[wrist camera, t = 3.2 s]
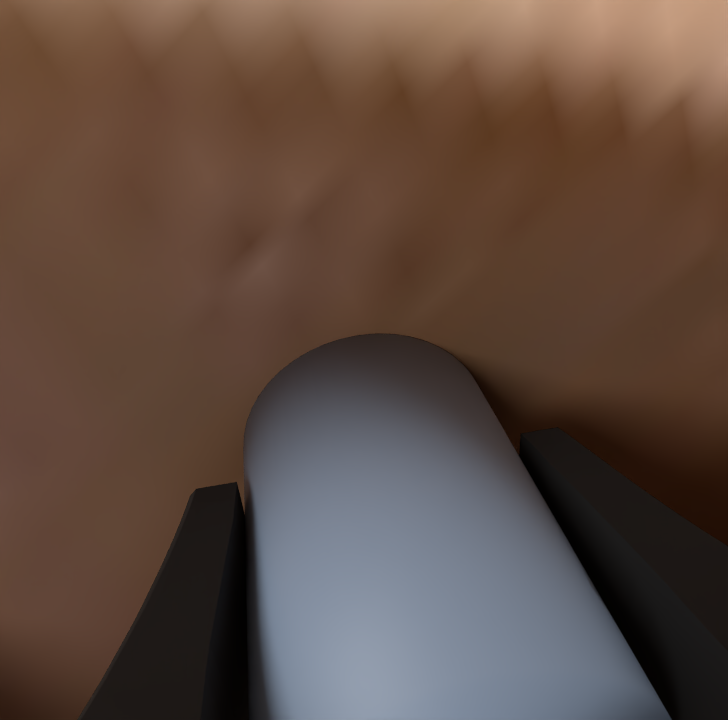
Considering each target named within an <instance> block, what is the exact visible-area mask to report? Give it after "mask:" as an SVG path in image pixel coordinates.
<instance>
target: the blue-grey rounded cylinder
mask: <svg viewBox="0 0 728 720" xmlns="http://www.w3.org/2000/svg"><path fill="white" fill-rule="evenodd" d="M244 499H245V549H246V605H247V657H248V710H249V720H672V719H671V717H670V716H669V714H668V712H667V710H666V709H665V707H664V705H663V704H662V702H661V700H660V698H659V697H658V695H657V693H656V692H655V690H654V688H653V686H652V685H651V683H650V681H649V679H648V678H647V676H646V674H645V673H644V671H643V669H642V667H641V666H640V664H639V662H638V660H637V659H636V657H635V655H634V654H633V652H632V650H631V648H630V647H629V645H628V643H627V642H626V640H625V638H624V636H623V635H622V633H621V631H620V629H619V628H618V626H617V624H616V623H615V621H614V619H613V617H612V616H611V614H610V612H609V610H608V609H607V607H606V605H605V604H604V602H603V600H602V598H601V597H600V595H599V593H598V591H597V590H596V588H595V586H594V585H593V583H592V581H591V579H590V578H589V576H588V574H587V573H586V571H585V569H584V567H583V566H582V564H581V562H580V560H579V559H578V557H577V555H576V554H575V552H574V550H573V548H572V547H571V545H570V543H569V541H568V540H567V538H566V536H565V535H564V533H563V531H562V529H561V528H560V526H559V524H558V523H557V521H556V519H555V517H554V516H553V514H552V512H551V510H550V509H549V507H548V505H547V504H546V502H545V500H544V498H543V497H542V495H541V493H540V491H539V490H538V488H537V486H536V485H535V483H534V481H533V479H532V478H531V476H530V474H529V472H528V471H527V469H526V467H525V466H524V464H523V462H522V460H521V459H520V457H519V455H518V454H517V452H516V450H515V448H514V447H513V445H512V443H511V441H510V440H509V438H508V436H507V435H506V433H505V431H504V429H503V428H502V426H501V424H500V422H499V421H498V419H497V417H496V416H495V414H494V412H493V410H492V409H491V407H490V405H489V404H488V402H487V400H486V398H485V397H484V395H483V393H482V391H481V390H480V388H479V386H478V385H477V383H476V381H475V380H474V378H473V376H472V375H471V373H470V372H469V371H468V370H467V369H466V368H465V366H464V365H463V364H462V363H461V362H460V361H458V360H457V359H456V358H455V357H454V356H452V355H451V354H450V353H448V352H446V351H445V350H443V349H441V348H440V347H438V346H435V345H433V344H431V343H429V342H426V341H423V340H420V339H416V338H413V337H409V336H402V335H395V334H368V335H358V336H353V337H348V338H343V339H339V340H336V341H333V342H330V343H327V344H324V345H322V346H320V347H318V348H315V349H313V350H311V351H309V352H307V353H305V354H304V355H302V356H300V357H299V358H297V359H296V360H294V361H292V362H291V363H290V364H289V365H287V366H286V367H285V368H284V369H282V370H281V371H280V372H279V373H278V374H277V375H276V376H275V377H274V378H273V379H272V380H271V381H270V382H269V383H268V384H267V386H266V387H265V388H264V390H263V391H262V392H261V394H260V395H259V396H258V398H257V400H256V402H255V404H254V405H253V407H252V409H251V412H250V415H249V417H248V420H247V423H246V428H245V433H244Z"/></svg>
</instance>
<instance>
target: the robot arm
mask: <svg viewBox="0 0 728 720" xmlns="http://www.w3.org/2000/svg"><path fill="white" fill-rule="evenodd" d="M519 457H520V459H521V460H522V462H523V464H524V466H525V467H526V469H527V471H528V472H529V474H530V476H531V478H532V479H533V481H534V483H535V485H536V486H537V488H538V490H539V491H540V493H541V495H542V497H543V498H544V500H545V502H546V504H547V505H548V507H549V509H550V510H551V512H552V514H553V516H554V517H555V519H556V521H557V523H558V524H559V526H560V528H561V529H562V531H563V533H564V535H565V536H566V538H567V540H568V541H569V543H570V545H571V547H572V548H573V550H574V552H575V554H576V555H577V557H578V559H579V560H580V562H581V564H582V566H583V567H584V569H585V571H586V573H587V574H588V576H589V578H590V579H591V581H592V583H593V585H594V586H595V588H596V590H597V591H598V593H599V595H600V597H601V598H602V600H603V602H604V604H605V605H606V607H607V609H608V610H609V612H610V614H611V616H612V617H613V619H614V621H615V623H616V624H617V626H618V628H619V629H620V631H621V633H622V635H623V636H624V638H625V640H626V642H627V643H628V645H629V647H630V648H631V650H632V652H633V654H634V655H635V657H636V659H637V660H638V662H639V664H640V666H641V667H642V669H643V671H644V673H645V674H646V676H647V678H648V679H649V681H650V683H651V685H652V686H653V688H654V690H655V692H656V693H657V695H658V697H659V698H660V700H661V702H662V704H663V705H664V707H665V709H666V710H667V712H668V714H669V716H670V717H671V719H672V720H728V546H727V545H725V544H724V543H722V542H720V541H719V540H717V539H716V538H714V537H712V536H711V535H709V534H708V533H706V532H704V531H703V530H701V529H700V528H698V527H697V526H695V525H694V524H692V523H691V522H689V521H688V520H686V519H685V518H683V517H682V516H680V515H679V514H677V513H676V512H674V511H673V510H671V509H670V508H668V507H667V506H666V505H664V504H663V503H661V502H660V501H658V500H657V499H656V498H654V497H653V496H651V495H650V494H648V493H647V492H646V491H644V490H643V489H641V488H640V487H639V486H637V485H636V484H634V483H633V482H632V481H630V480H629V479H627V478H626V477H625V476H623V475H622V474H621V473H619V472H618V471H617V470H615V469H614V468H612V467H611V466H610V465H608V464H607V463H606V462H604V461H603V460H602V459H600V458H599V457H598V456H596V455H595V454H593V453H592V452H591V451H589V450H588V449H587V448H585V447H584V446H583V445H581V444H580V443H579V442H577V441H576V440H575V439H573V438H572V437H570V436H569V435H568V434H566V433H565V432H563V431H562V430H561V429H559V428H558V427H557V428H551V429H545V430H539V431H534V432H528V433H522V434H521V439H520V453H519ZM77 720H249V710H248V657H247V605H246V549H245V514H244V510H243V506H242V502H241V498H240V493H239V489H238V485H237V482H234V483H228V484H222V485H216V486H210V487H205V488H199V489H196V490H195V491H194V492H193V493H192V494H191V496H190V498H189V501H188V503H187V506H186V509H185V512H184V514H183V517H182V519H181V522H180V524H179V527H178V529H177V532H176V534H175V536H174V539H173V541H172V543H171V546H170V548H169V550H168V552H167V555H166V557H165V559H164V561H163V564H162V566H161V568H160V570H159V572H158V574H157V576H156V578H155V580H154V582H153V584H152V586H151V588H150V591H149V593H148V595H147V597H146V599H145V601H144V603H143V605H142V607H141V609H140V611H139V613H138V615H137V617H136V619H135V621H134V623H133V624H132V626H131V628H130V630H129V632H128V633H127V635H126V637H125V639H124V641H123V642H122V644H121V646H120V648H119V650H118V651H117V653H116V655H115V657H114V659H113V660H112V662H111V664H110V666H109V668H108V669H107V671H106V673H105V675H104V677H103V678H102V680H101V682H100V683H99V685H98V687H97V688H96V690H95V692H94V693H93V695H92V697H91V698H90V700H89V702H88V703H87V705H86V707H85V708H84V710H83V711H82V713H81V715H80V716H79V718H78V719H77Z"/></svg>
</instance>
